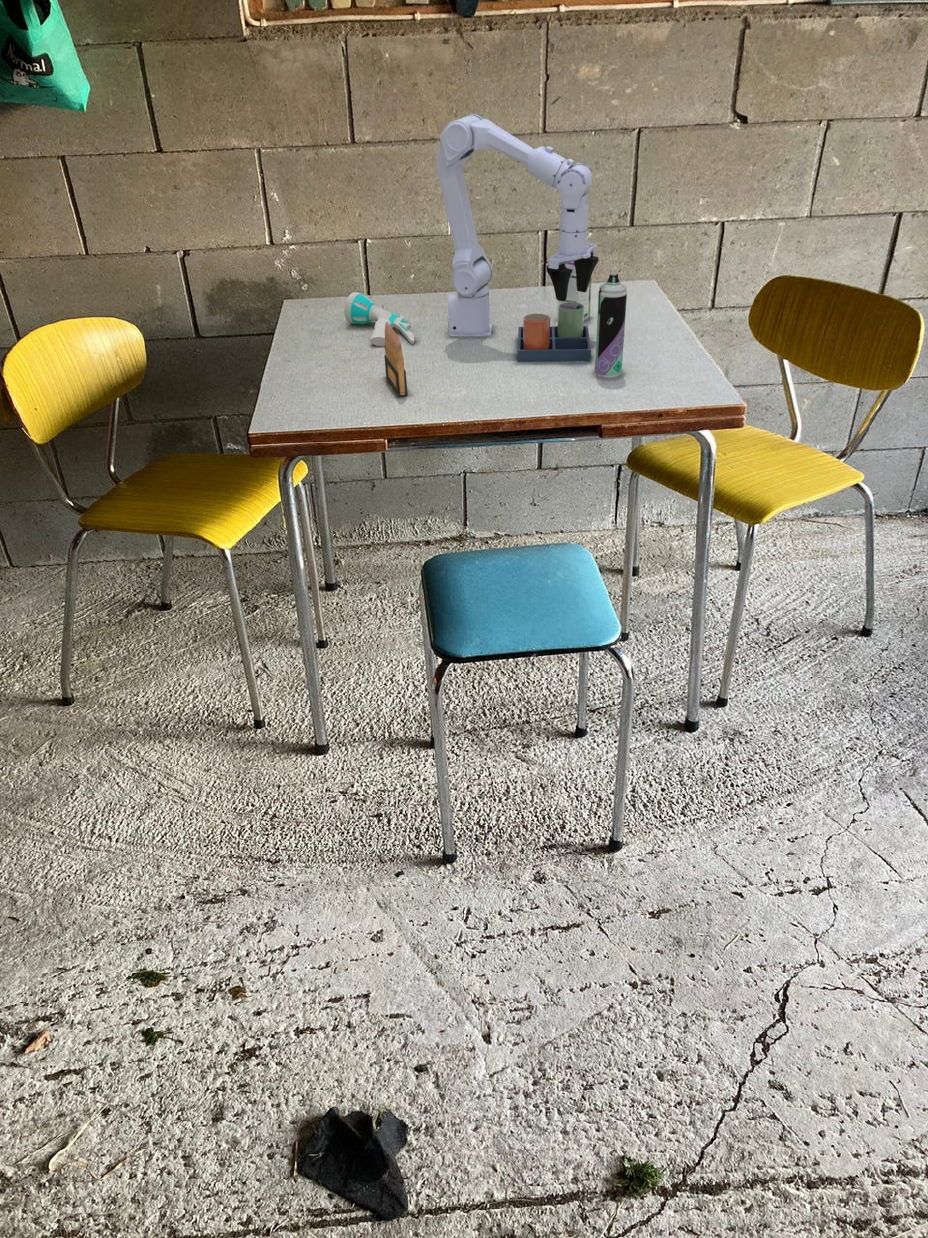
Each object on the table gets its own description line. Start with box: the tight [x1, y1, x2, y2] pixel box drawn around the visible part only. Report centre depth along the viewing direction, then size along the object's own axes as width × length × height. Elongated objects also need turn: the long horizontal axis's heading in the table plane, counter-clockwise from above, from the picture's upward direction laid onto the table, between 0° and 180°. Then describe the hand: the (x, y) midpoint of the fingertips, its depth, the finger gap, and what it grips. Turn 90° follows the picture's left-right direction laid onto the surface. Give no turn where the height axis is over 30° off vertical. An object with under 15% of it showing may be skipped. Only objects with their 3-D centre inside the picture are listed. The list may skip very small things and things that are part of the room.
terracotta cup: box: [522, 313, 551, 350], centre depth 200 cm, size 6×6×8 cm
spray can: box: [594, 273, 628, 378], centre depth 187 cm, size 6×6×20 cm
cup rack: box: [516, 325, 592, 363], centre depth 204 cm, size 15×15×3 cm
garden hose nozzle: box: [343, 291, 416, 347], centre depth 218 cm, size 7×18×20 cm
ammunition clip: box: [384, 322, 408, 398], centre depth 188 cm, size 11×2×12 cm, turn 18°
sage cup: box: [557, 302, 585, 338], centre depth 205 cm, size 6×6×8 cm
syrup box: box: [556, 261, 592, 320], centre depth 217 cm, size 6×6×14 cm
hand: (571, 295), depth 203 cm, fingers open, 7 cm apart
